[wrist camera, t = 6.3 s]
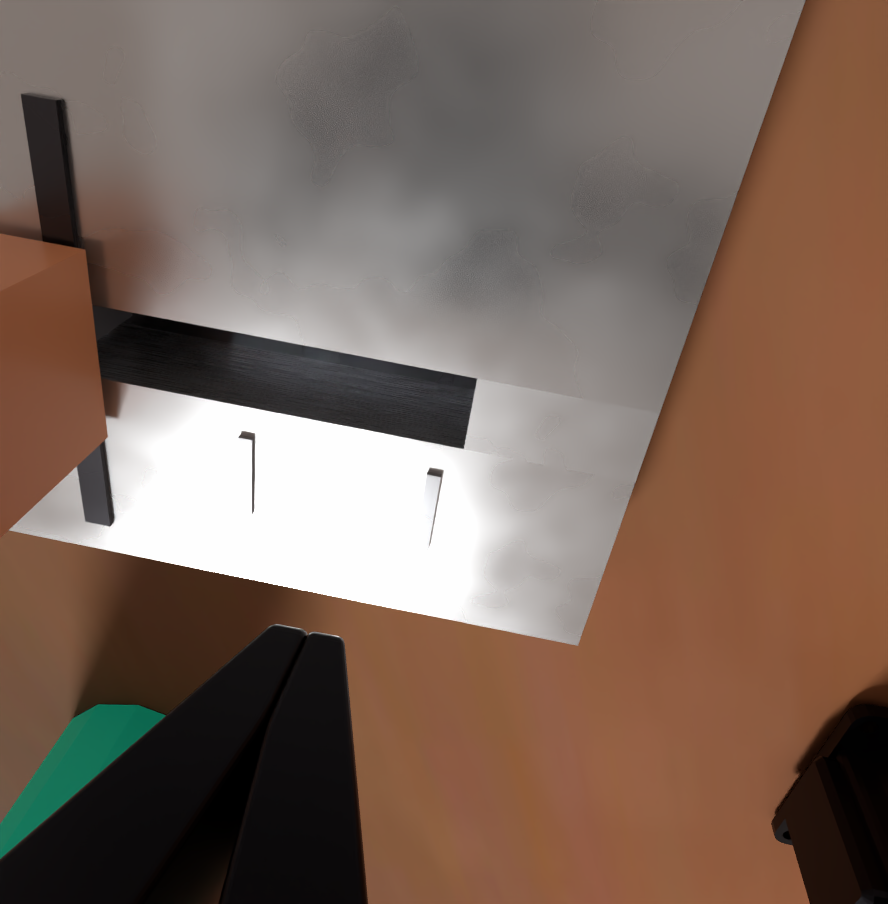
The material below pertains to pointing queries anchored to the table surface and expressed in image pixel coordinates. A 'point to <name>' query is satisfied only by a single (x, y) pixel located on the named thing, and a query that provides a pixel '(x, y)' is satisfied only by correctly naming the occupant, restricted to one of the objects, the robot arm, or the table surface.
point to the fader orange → (47, 370)
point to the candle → (75, 764)
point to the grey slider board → (382, 274)
